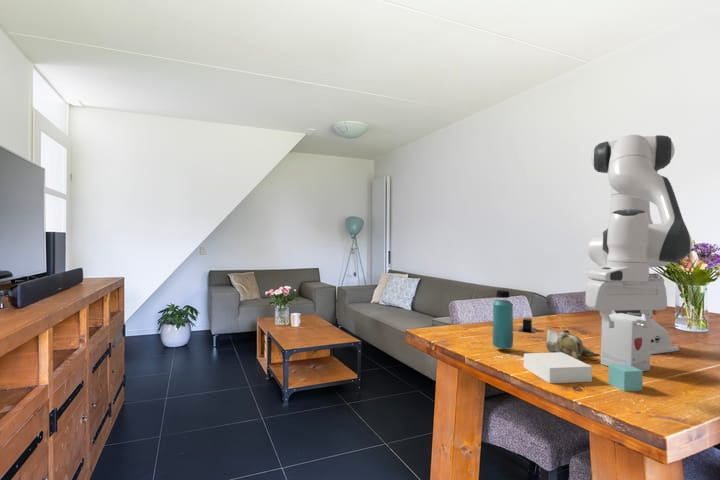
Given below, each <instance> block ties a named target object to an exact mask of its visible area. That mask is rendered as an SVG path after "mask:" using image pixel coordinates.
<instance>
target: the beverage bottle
mask: <svg viewBox="0 0 720 480" xmlns="http://www.w3.org/2000/svg"><path fill="white" fill-rule="evenodd" d="M495 296H496V298H502V299H496V300H495V301H494V302H492V306H493V307H492V310H493V311H492V345H493V347H495V348H497V349H506V350H507V349H512V348H513V346H514V316H513V315H514V313H513V312H514V311H513V310H514V309H513V308H514V307H513V306H514V304H513V303H512V302H511V301H510V300H505V299H508V298H510V291H509V290H502V289H500V290H496V295H495ZM503 298H504V299H503Z"/></svg>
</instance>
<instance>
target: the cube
mask: <svg viewBox="0 0 720 480" xmlns="http://www.w3.org/2000/svg"><path fill="white" fill-rule="evenodd" d="M643 372H644V371H642V370H639V369H637V368H635V367H632V366H630V365H627V364H612V365H609V366H608V379H607V380H608V381H607V382H608V383H607V384H609V385H611V386H612V387H615V388H616V389H619V390H621V391H623V392H636V391H639V390H641V391H643V376H644V375H643Z"/></svg>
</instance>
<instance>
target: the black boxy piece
mask: <svg viewBox="0 0 720 480" xmlns="http://www.w3.org/2000/svg"><path fill="white" fill-rule="evenodd" d="M519 328H520V329H518V330H517V332H520V333H525V334H526V333H529V334H536V330H537V328H536V327H533V318H530V317H523V319H522V326H520V327H519Z"/></svg>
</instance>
